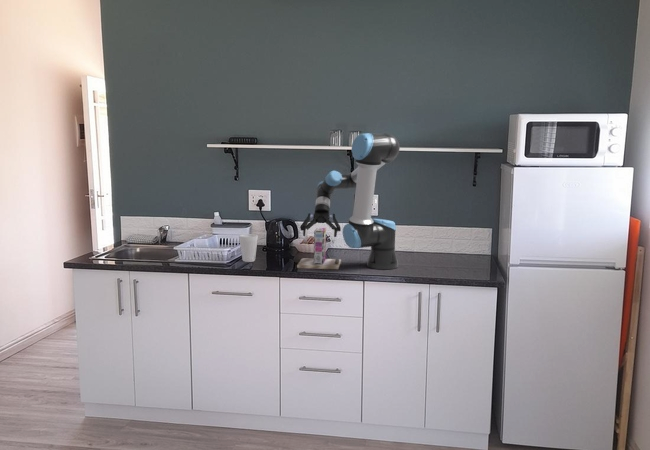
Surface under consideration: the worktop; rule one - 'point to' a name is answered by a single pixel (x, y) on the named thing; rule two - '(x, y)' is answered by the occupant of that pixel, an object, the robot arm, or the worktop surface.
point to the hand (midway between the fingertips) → (319, 241)
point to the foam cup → (248, 246)
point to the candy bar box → (319, 245)
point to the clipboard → (326, 265)
